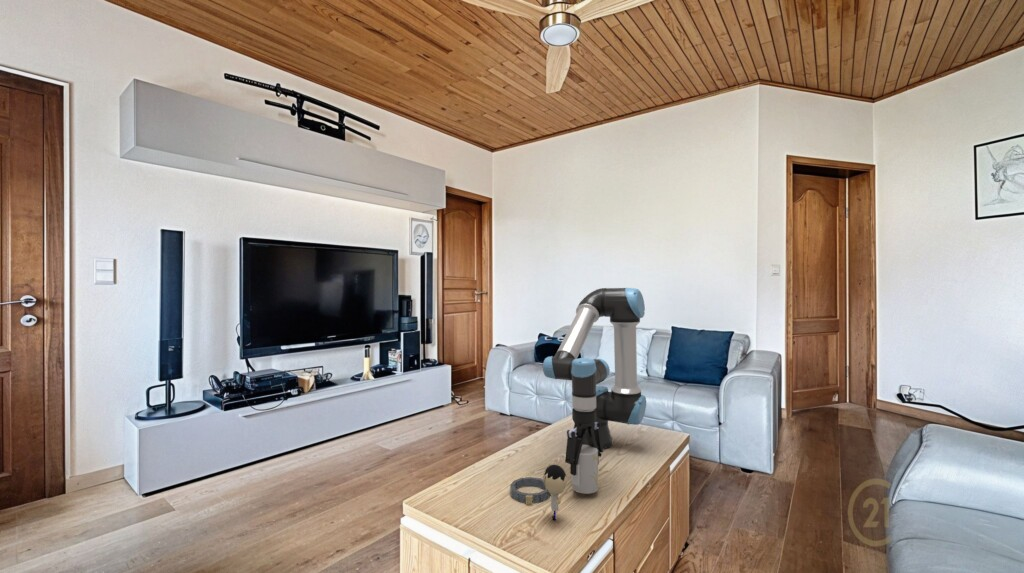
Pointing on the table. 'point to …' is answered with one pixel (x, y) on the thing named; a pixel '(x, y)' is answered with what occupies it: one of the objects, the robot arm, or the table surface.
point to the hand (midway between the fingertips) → (585, 480)
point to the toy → (555, 485)
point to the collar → (527, 497)
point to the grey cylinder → (588, 470)
